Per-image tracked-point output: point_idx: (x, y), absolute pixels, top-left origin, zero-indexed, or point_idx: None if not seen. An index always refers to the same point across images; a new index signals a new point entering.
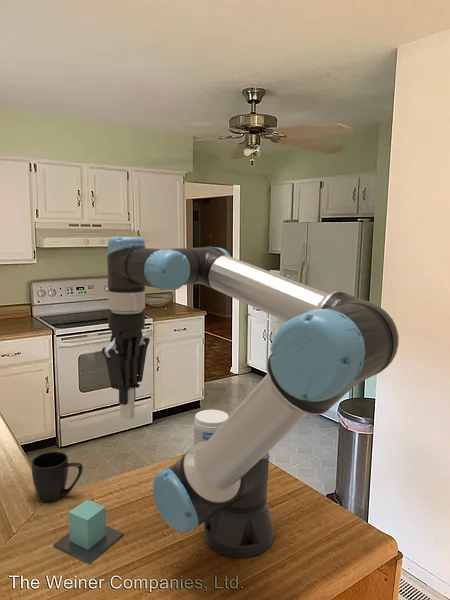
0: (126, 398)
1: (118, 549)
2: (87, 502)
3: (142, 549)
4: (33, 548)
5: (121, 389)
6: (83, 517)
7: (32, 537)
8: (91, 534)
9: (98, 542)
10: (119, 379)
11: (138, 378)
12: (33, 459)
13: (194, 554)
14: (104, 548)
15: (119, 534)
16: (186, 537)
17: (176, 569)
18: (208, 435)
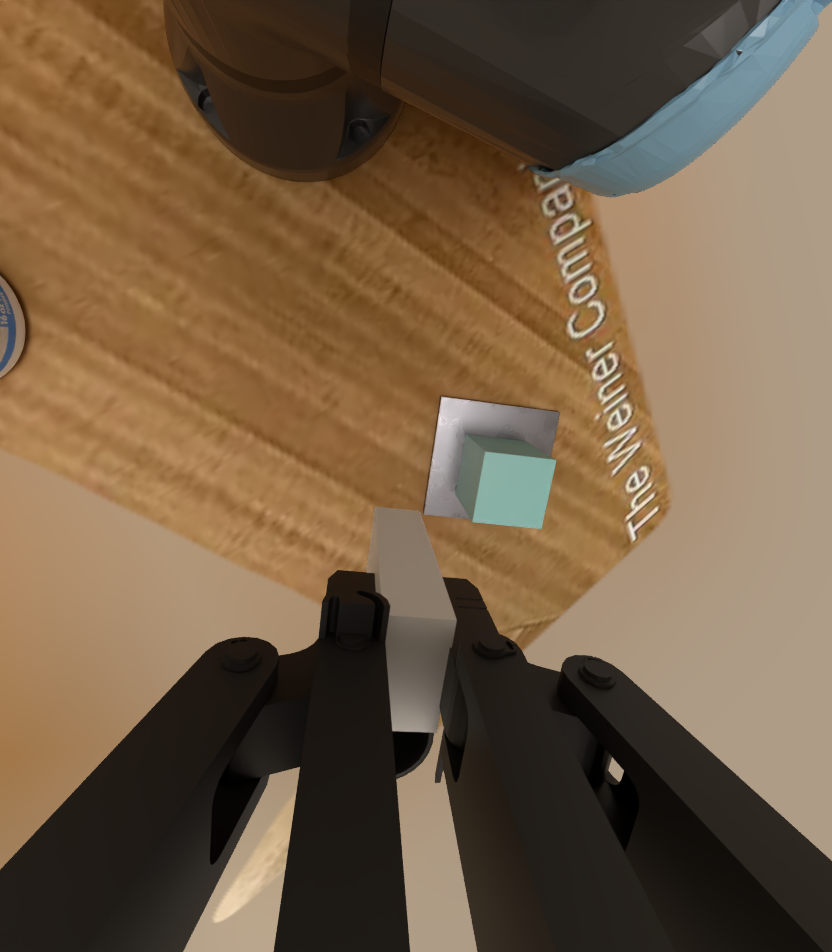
0: (454, 602)
1: (491, 378)
2: (484, 512)
3: (469, 319)
4: (552, 557)
5: (595, 662)
6: (549, 477)
7: (523, 584)
8: (525, 447)
9: (495, 434)
10: (709, 767)
11: (271, 681)
12: (400, 776)
13: (436, 166)
14: (508, 408)
15: (449, 404)
16: (379, 222)
17: (505, 191)
18: None
